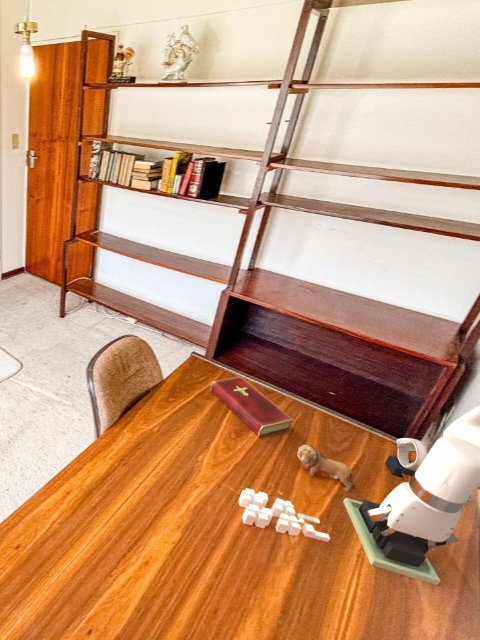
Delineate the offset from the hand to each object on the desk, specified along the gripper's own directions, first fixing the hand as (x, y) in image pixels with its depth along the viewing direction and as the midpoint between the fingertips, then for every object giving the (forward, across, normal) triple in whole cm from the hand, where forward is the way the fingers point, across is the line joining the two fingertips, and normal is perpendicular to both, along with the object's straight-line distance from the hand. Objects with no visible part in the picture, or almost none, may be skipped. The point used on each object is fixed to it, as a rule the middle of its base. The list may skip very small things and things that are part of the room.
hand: (395, 547), depth 86 cm
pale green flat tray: (+2, 0, -3) cm, 4 cm away
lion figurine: (+3, +9, -17) cm, 19 cm away
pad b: (+1, 0, 0) cm, 1 cm away
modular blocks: (+3, +22, 0) cm, 22 cm away
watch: (+2, -13, -27) cm, 30 cm away
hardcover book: (+3, +23, -39) cm, 45 cm away
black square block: (+2, 0, -7) cm, 7 cm away
